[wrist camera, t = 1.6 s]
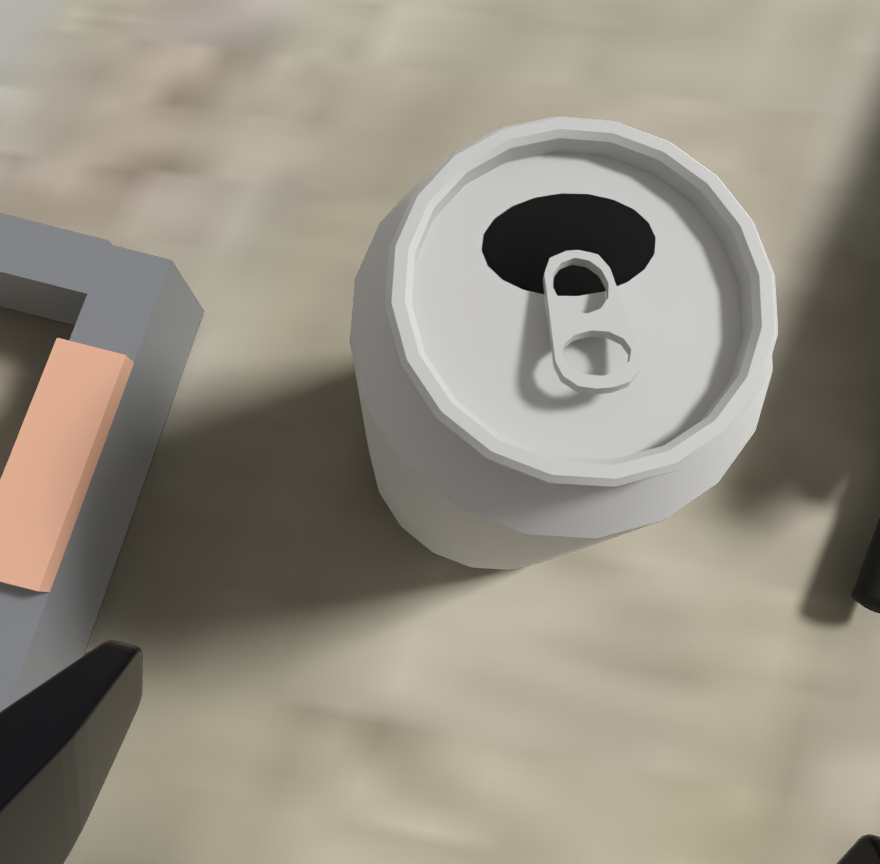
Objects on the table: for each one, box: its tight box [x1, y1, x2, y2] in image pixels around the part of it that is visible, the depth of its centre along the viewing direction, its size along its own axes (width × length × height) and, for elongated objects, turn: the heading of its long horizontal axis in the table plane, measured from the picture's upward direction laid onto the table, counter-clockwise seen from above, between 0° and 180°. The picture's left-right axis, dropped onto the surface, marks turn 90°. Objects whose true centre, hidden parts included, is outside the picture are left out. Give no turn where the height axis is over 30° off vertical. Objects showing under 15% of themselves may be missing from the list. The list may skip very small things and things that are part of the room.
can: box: [350, 116, 778, 570], centre depth 17 cm, size 8×8×12 cm
